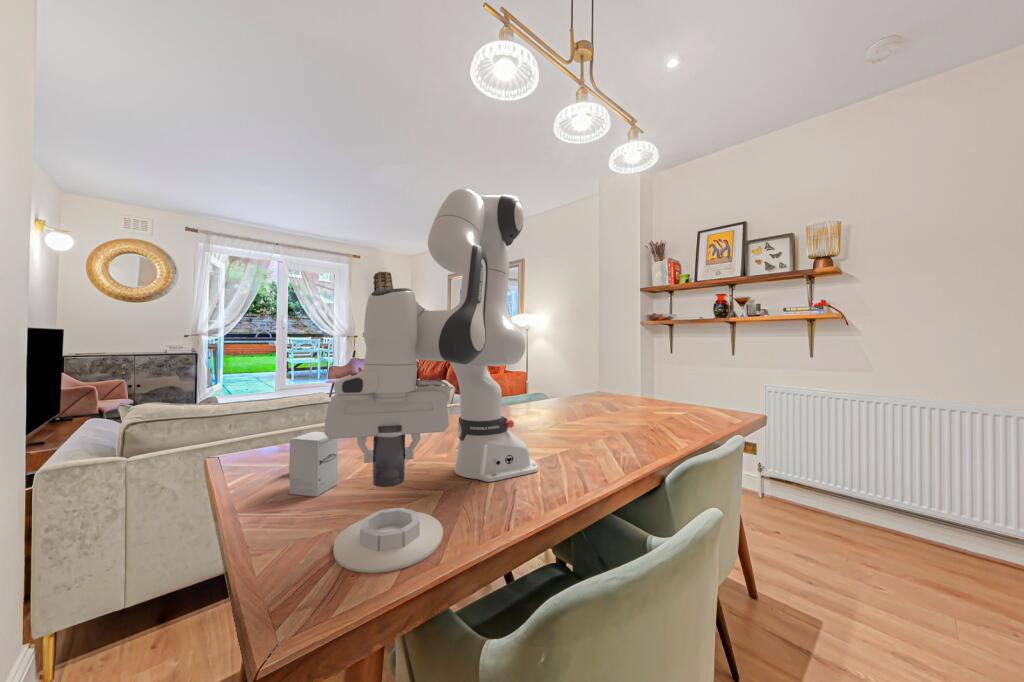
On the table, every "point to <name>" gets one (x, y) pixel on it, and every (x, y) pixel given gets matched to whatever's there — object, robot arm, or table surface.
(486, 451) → the robot arm
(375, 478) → the lens
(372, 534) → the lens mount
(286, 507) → the table surface
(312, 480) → the supplement box
